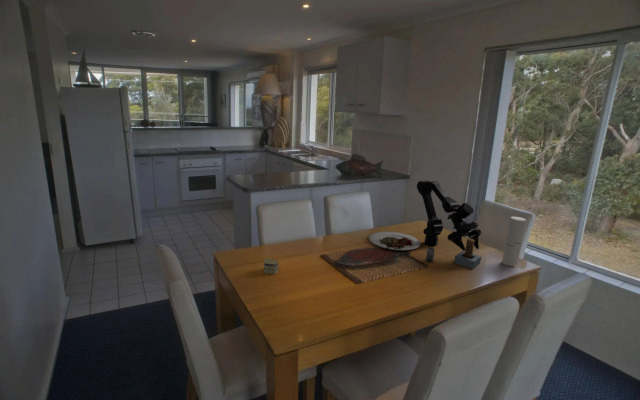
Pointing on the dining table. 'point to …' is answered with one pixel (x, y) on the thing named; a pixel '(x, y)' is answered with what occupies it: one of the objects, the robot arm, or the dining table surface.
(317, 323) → the dining table surface
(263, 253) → the dining table surface
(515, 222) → the cylindrical container
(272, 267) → the grey lidded box
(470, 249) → the tall walnut pin
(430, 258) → the short grey pin
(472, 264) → the hole block
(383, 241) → the plated food
